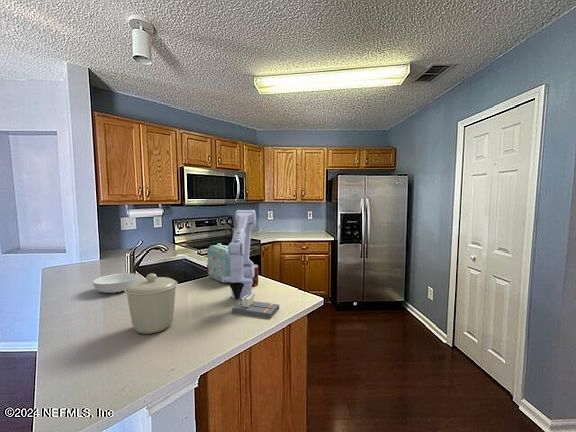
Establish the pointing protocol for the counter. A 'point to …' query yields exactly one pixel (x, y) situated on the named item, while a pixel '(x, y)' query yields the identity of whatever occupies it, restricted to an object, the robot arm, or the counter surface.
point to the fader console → (257, 309)
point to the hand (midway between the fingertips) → (237, 298)
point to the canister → (151, 303)
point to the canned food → (255, 276)
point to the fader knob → (247, 300)
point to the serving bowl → (114, 282)
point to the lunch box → (218, 262)
